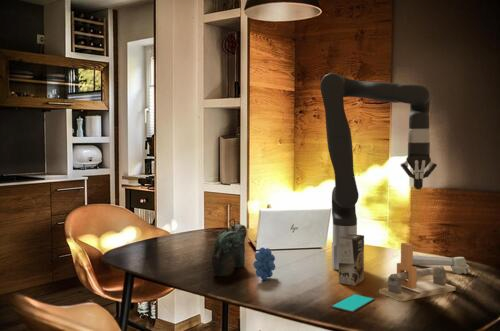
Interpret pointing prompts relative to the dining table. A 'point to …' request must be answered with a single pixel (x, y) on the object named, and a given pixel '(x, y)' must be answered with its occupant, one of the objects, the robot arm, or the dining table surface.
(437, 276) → the pipe stand
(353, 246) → the coffee box
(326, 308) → the dining table surface
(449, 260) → the toothbrush head
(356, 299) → the smartphone
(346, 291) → the dining table surface
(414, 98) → the robot arm
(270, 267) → the grapes
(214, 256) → the dark green backpack
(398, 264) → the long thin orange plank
